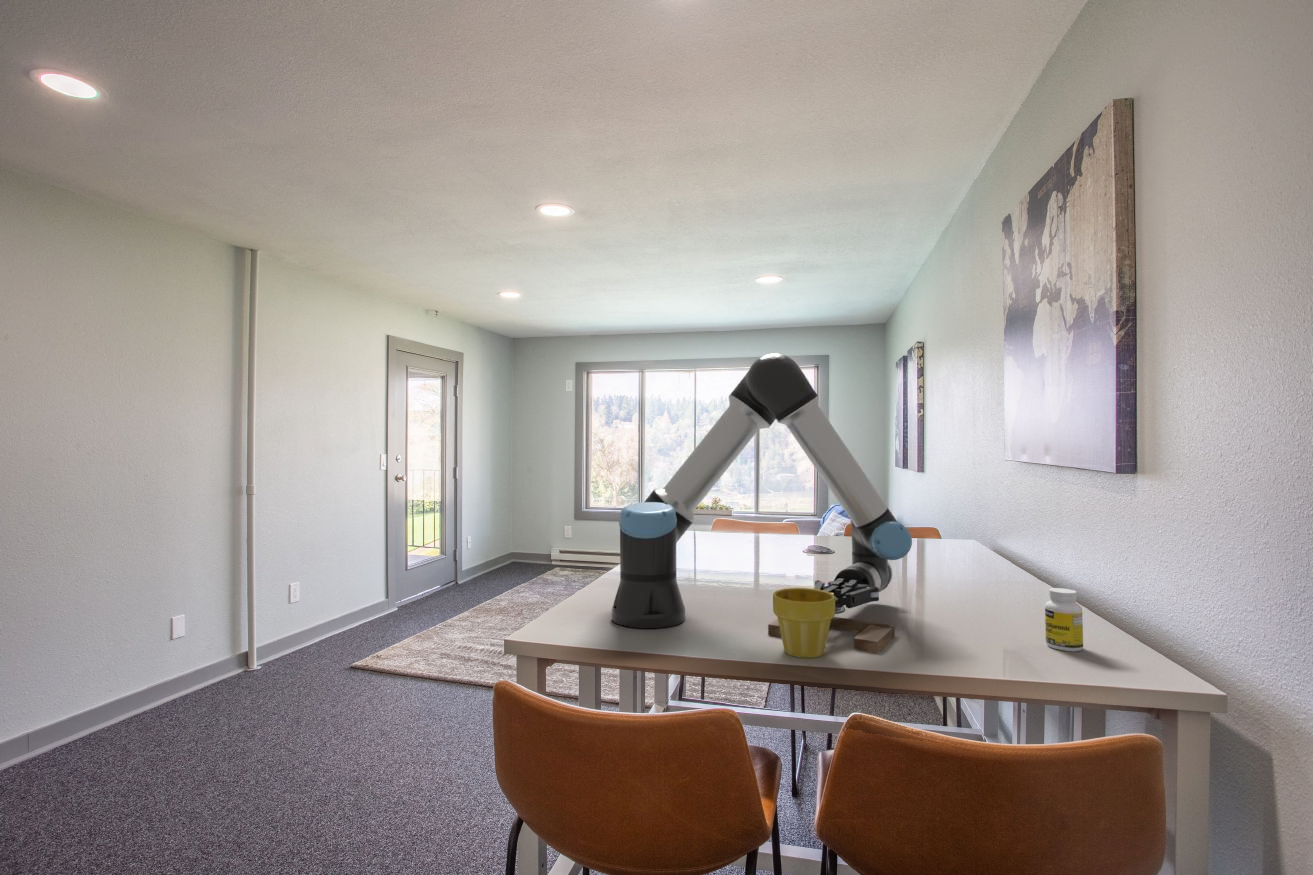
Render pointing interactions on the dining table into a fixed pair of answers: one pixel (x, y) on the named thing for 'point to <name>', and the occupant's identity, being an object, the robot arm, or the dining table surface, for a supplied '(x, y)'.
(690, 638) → the dining table surface
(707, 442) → the robot arm
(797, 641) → the plant pot
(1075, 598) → the supplement bottle
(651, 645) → the dining table surface
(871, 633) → the brown u-shaped block
